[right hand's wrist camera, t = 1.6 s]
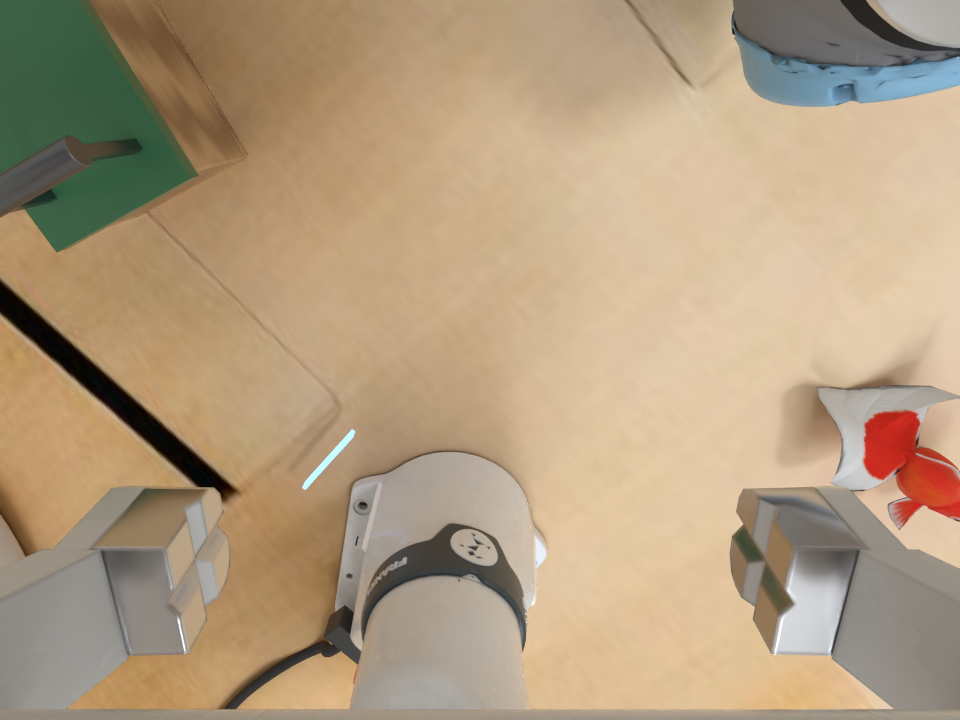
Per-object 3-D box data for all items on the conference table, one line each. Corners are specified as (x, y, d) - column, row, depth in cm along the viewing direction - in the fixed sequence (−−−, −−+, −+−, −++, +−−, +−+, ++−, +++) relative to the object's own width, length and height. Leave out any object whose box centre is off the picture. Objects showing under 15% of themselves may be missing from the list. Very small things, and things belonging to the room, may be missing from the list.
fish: (867, 570, 56) (953, 589, 46) (753, 420, 58) (812, 408, 48) (959, 497, 57) (1062, 501, 47) (845, 353, 59) (920, 328, 50)
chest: (248, 156, 48) (195, 169, 39) (139, 216, 50) (64, 241, 41) (100, -93, 42) (-2, -145, 33) (-18, -16, 44) (-146, -46, 35)
